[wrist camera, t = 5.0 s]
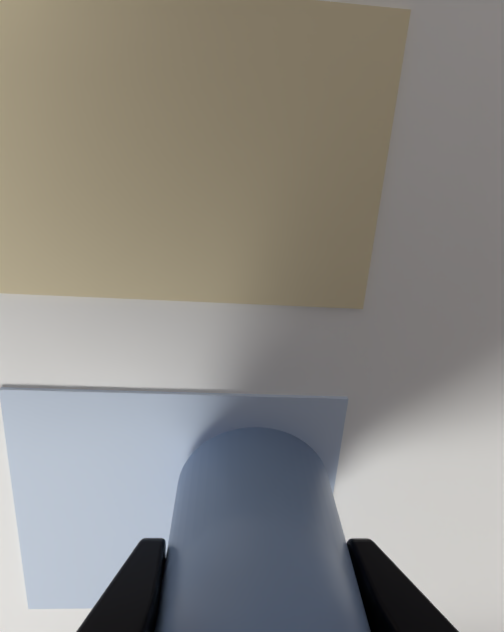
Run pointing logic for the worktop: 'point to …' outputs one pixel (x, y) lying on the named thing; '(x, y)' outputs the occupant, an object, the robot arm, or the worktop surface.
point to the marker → (257, 542)
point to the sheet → (250, 277)
